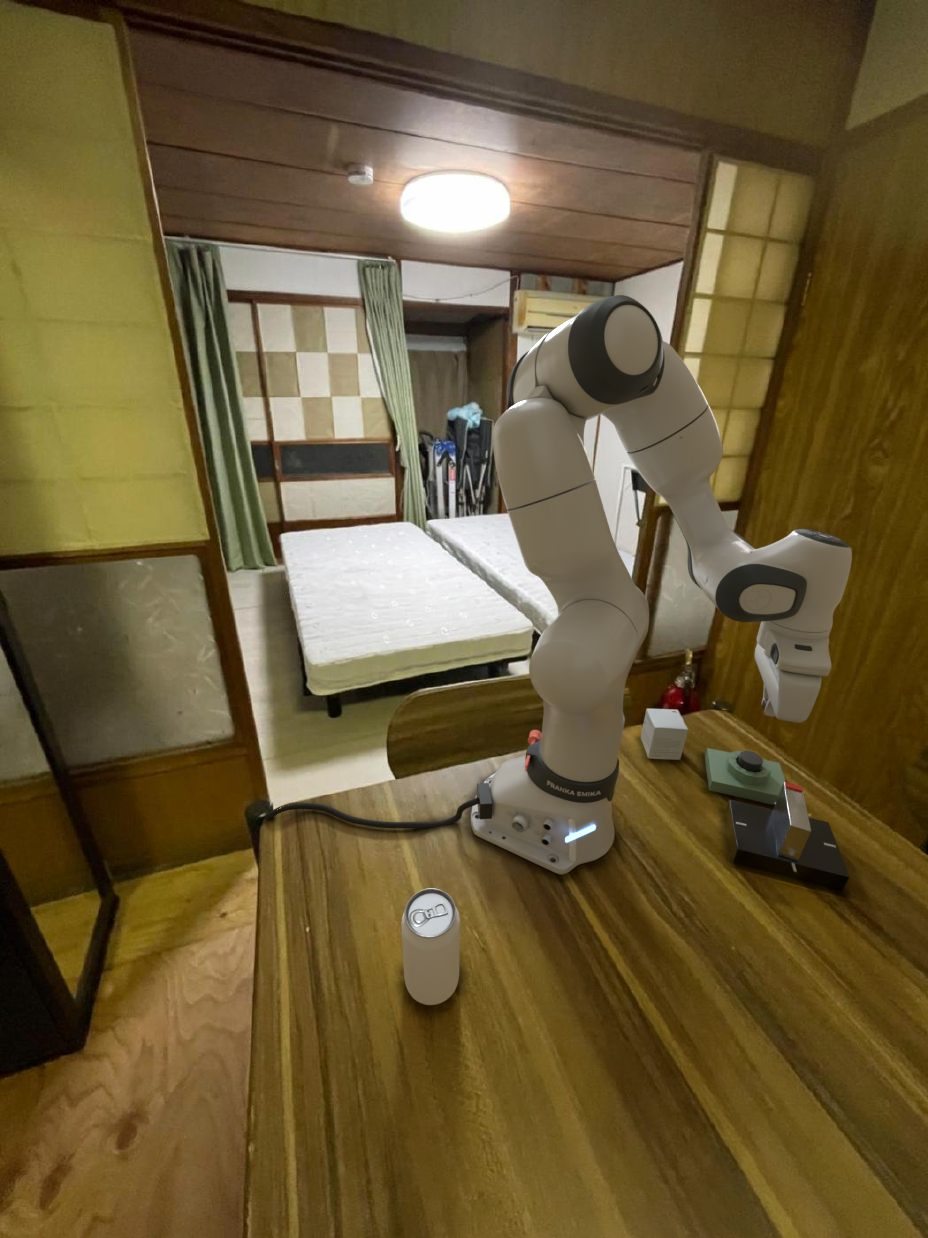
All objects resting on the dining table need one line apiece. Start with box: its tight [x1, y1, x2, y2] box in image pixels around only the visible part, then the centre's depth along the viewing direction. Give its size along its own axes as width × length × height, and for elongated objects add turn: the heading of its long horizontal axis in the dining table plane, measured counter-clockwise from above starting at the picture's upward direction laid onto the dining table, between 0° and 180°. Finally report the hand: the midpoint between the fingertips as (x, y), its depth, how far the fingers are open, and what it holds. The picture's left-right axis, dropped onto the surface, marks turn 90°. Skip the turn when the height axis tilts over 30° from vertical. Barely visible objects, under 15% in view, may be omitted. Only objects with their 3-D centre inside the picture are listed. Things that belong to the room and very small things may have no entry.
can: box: [400, 887, 461, 1006], centre depth 58 cm, size 6×6×12 cm
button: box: [737, 750, 764, 772], centre depth 88 cm, size 4×4×2 cm
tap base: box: [724, 799, 850, 892], centre depth 77 cm, size 14×13×3 cm
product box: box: [640, 707, 689, 761], centre depth 96 cm, size 6×6×7 cm
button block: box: [704, 747, 787, 806], centre depth 89 cm, size 12×9×4 cm
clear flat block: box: [772, 781, 811, 861], centre depth 75 cm, size 9×2×6 cm, turn 156°
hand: (768, 711), depth 84 cm, fingers closed
